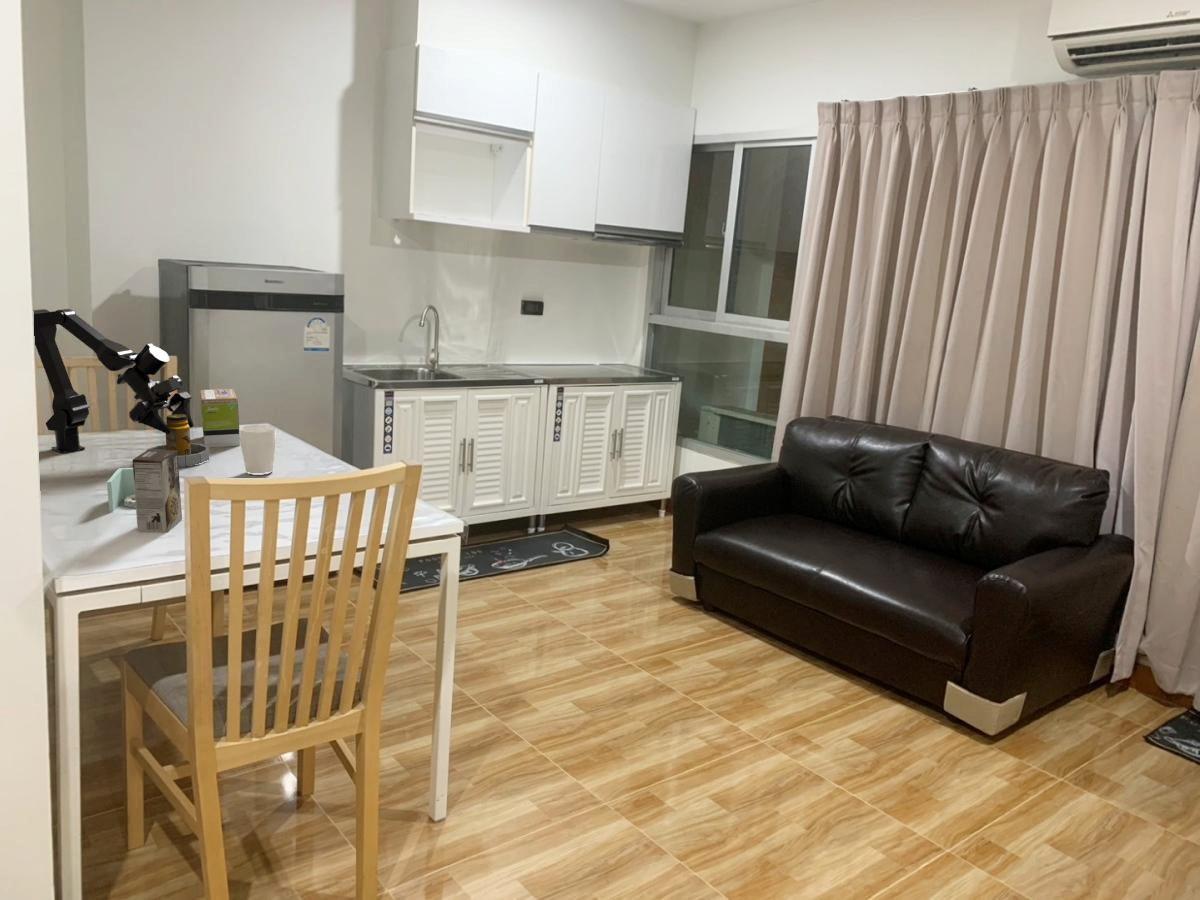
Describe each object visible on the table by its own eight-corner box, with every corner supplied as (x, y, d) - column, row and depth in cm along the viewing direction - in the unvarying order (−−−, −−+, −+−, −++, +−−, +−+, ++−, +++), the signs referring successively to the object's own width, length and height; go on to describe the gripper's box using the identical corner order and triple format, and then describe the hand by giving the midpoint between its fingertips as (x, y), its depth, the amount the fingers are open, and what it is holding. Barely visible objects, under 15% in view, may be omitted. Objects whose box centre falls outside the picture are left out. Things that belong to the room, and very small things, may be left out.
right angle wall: (109, 513, 207) (106, 481, 205) (121, 498, 218) (118, 468, 216) (167, 512, 210) (165, 480, 208) (175, 497, 221) (173, 467, 219)
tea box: (202, 436, 279) (199, 388, 275) (237, 435, 283) (235, 387, 280) (203, 448, 266) (201, 398, 262) (240, 446, 270) (238, 397, 266)
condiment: (198, 458, 252) (195, 415, 249) (170, 464, 245) (167, 420, 242) (181, 453, 256) (179, 411, 253) (153, 459, 249) (150, 416, 246)
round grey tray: (136, 459, 250) (135, 449, 249) (191, 450, 262) (190, 440, 261) (165, 470, 241) (164, 459, 240) (220, 461, 253) (220, 450, 252)
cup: (284, 471, 246) (283, 427, 243) (262, 478, 238) (260, 434, 235) (257, 466, 249) (255, 423, 246) (233, 474, 241) (231, 429, 238)
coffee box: (153, 519, 203) (148, 448, 199) (183, 519, 204) (178, 449, 200) (136, 532, 194) (130, 458, 191) (167, 533, 195) (162, 459, 191)
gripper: (135, 371, 237) (174, 417, 237) (183, 362, 255) (220, 405, 255) (111, 398, 241) (150, 443, 241) (161, 388, 259) (197, 430, 259)
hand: (181, 429), depth 249 cm, fingers open, 9 cm apart
